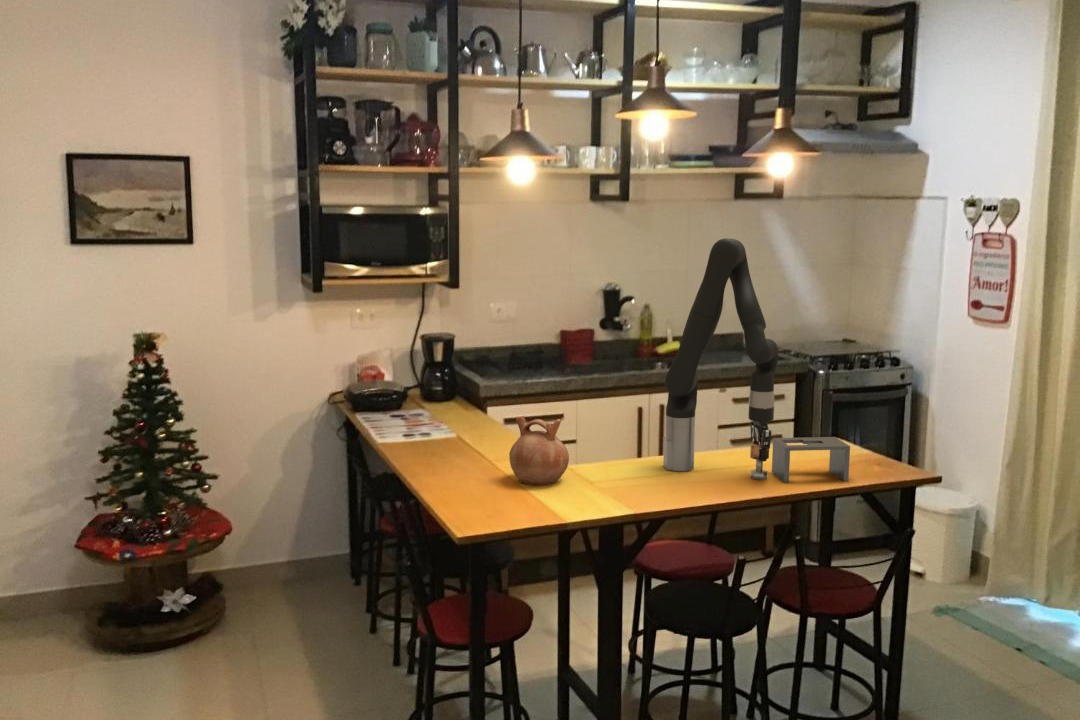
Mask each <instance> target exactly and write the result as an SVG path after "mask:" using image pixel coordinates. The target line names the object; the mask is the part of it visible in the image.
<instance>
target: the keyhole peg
mask: <svg viewBox="0 0 1080 720" xmlns="http://www.w3.org/2000/svg"><path fill="white" fill-rule="evenodd" d="M764 445H765V442H764ZM749 450H750V454H749V458H750V459H752V460H755V469H752V470H750V479H752V480H755V481H765V480H768V471H767V470H765V469H763V467H764V466H763V462H764V461H759V443H752V442H751V443H750V449H749ZM769 458H770V449H767V460H768V459H769Z"/></svg>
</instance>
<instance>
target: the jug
mask: <svg viewBox="0 0 1080 720" xmlns="http://www.w3.org/2000/svg"><path fill="white" fill-rule="evenodd" d="M515 420H516V424H517V426H518V429H519V431H520V432H519V433H520V436H519V437H518V438H517V440H516V441H514V443H513V444H512V446H511V448H510V451H509V456H508V457H509V464H510V468H511V470H512V472H513V473H514V475H515V477H516V478H517V480H518V481H519V482H520V484H523V485H526V486H533V487H544V486H545V487H547V486H551V485H554V483H555V484H556V483H558V481H559V480H560V479H561V477H563V476H564V474H565V473H566V470H567V469H568V466H569V461H570V454H569V451H568V449H567V447H566V446H565V444H564V443H563V442H562V441H561V439H559V437H558V436H557V433H558V430H559V428H560V426H561V422H562V421H561V419H559V418H558V419H556V420H554V422H553V423H552V422H546V421H545V420H543V419H540V418H537V419H533V420H531V421H529V422H527V420H526V418H525V416H524V415H521V416H519V417H517V418H516V419H515ZM534 425H535V426H536V425H537V426H540V427H542V428H544V429H545V430H546V431H545V430H532V429H531V426H534Z"/></svg>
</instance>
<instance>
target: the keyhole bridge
mask: <svg viewBox="0 0 1080 720" xmlns="http://www.w3.org/2000/svg"><path fill="white" fill-rule="evenodd" d="M791 444H792V445H791ZM793 451H799V452H800V451H829V464H828V465H829V468H828V471H829V472H830V473H832V474H833V475H834V476H835V477H837V478H838V479H839V480H841V481H842V482H849V477H850V476H849V475H850V459H851V458H850V454H851V446H850V445H848V444H847V443H846V442H845V441H843V440H841V439H839V438H838V437H836V436H817V437H815V436H814V437H806V436H805V437H773V438H772V452H771V453H772V454H771V455H772V458H771V459H772V461H771V473H772V474H773V475H774V476H775V477H777V478H778V479H779V480H780V481H781V482H782V483H784V484H789V483H790V468H791V467H790V461H791V452H793Z"/></svg>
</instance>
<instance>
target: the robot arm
mask: <svg viewBox="0 0 1080 720" xmlns="http://www.w3.org/2000/svg"><path fill="white" fill-rule="evenodd" d="M747 257H748V256H747V252H746V248H745V246H744V244H743V243H742V242H741V241H739V240H737V239H735V238H727V237H726V238H721V239H719V240H717V241H715V243H714V244H713V245H712V247H711V249H710V252H709V256H708V259H707V265H706V267H705V272H704V275H703V278H702V282H701V283H700V286H699V288H698V291H697V293H696V295H695V297H694V301H693V304H692V306H691V309H690V310H689V313H688V316H687V320H686V322H685V325H684V328H683V332H682V335H681V339H680V342H679V343H680V344H679V347H678V349H677V351H676V352H677V353H676V355H675V357H674V359H673V361H672V363H671V366H670V367H669V369H668V371H667V373H666V375H665V378H664V385H665V388H666V390H667V392H668V394H667V395H668V396H667V403H666V407H665V436H664V437H663V467H664V469H666V471H674V472H689V471H692V470H694V469H695V441H696V440H695V439H696V437H695V436H696V431H695V429H696V408H697V402H698V383H699V382H698V381H699V380H698V375H697V369H698V366H699V363H700V360H701V359H702V356H703V354H704V352H705V350H706V349H707V348H708V345H709V344H710V342H711V340H712V338H713V336H714V334H715V333H716V332H715V331H716V329H717V328H718V324H719V321H720V318H721V316H722V312H723V306H724V296H725V289H726V286H727V283H728V280H730V283H731V287H732V291H733V297H734V304H735V309H736V314H737V317H738V320H739V322H740V325H741V327H742V330H743V338H744V344H745V349H746V353H747V356H748V359H750V361H751V362H753V363H754V364H755V366H754V367H755V368H754V370H752V372H751V374H750V382H749V384H750V386H749V388H750V389H749V390H750V391H749V396H748V420H749V421H750V422H749V423H750V440H751V443H759V461H763V462H767V460H768V459H767V449H769V450H770V448H771V441H772V440H771V439H772V430H771V429H770V427H769V426H768V423H769V422H772V421H774V418H775V416H774V415H775V374H776V371H777V367H778V366H777V365H778V363H779V362H778V361H779V347H778V345H777V343H776V341H774V340H773V339H771V338H766V335H765V329H766V328H767V324H766V323H767V322H766V320H765V318H764V317H765V316H764V314H763V311H762V308H761V306H760V302H759V300H758V297H757V294H756V290H755V288H754V285H753V281H752V278H751V273H750V269H749V268H750V267H749V263H748V258H747ZM764 443H765V445H764Z"/></svg>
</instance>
